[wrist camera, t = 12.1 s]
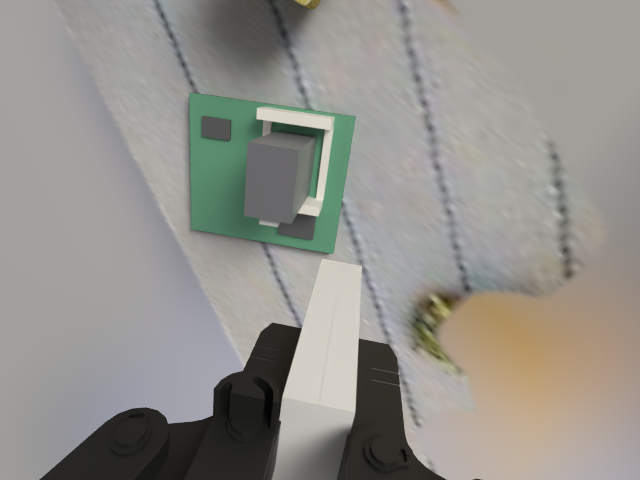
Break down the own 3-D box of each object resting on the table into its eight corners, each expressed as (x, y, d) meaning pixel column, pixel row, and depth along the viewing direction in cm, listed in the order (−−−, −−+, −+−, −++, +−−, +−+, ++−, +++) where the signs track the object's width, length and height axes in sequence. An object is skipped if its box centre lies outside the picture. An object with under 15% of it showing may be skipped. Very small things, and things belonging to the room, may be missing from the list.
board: (194, 92, 37) (174, 92, 33) (355, 116, 36) (353, 119, 32) (196, 225, 43) (178, 238, 39) (334, 249, 42) (330, 265, 38)
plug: (278, 130, 36) (247, 141, 27) (317, 136, 36) (299, 150, 26) (273, 193, 39) (243, 223, 29) (309, 199, 38) (290, 231, 29)
